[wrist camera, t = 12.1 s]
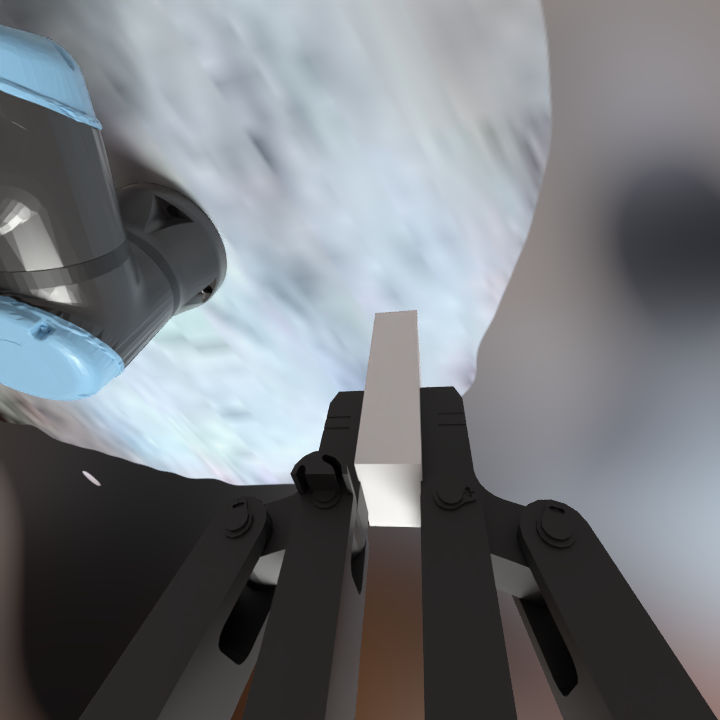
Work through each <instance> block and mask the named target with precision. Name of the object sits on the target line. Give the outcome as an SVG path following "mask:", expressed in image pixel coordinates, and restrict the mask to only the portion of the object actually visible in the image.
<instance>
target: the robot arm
mask: <svg viewBox="0 0 720 720" xmlns="http://www.w3.org/2000/svg"><path fill="white" fill-rule="evenodd" d="M101 130H103V129H102V125H101V123H100V121H99V120H98V119H97V118H96V116H95V113H94V109H93V106H92V103H91V100H90V96H89V93H88V90H87V87H86V84H85V80H84V77H83V74H82V72H81V69H80V67H79V66H78V64H77V63H76V61H75V60H74V58H73V57H72V56H71V55H70V54H69V53H68V52H67V51H66V50H65V49H64V48H63V47H62V46H60V45H59V44H58V43H56V42H55V41H53V40H51V39H49V38H47V37H44V36H41V35H38V34H34V33H30V32H27V31H23V30H19V29H15V28H12V27H8V26H4V25H0V383H1V384H3V385H5V386H8V387H10V388H12V389H15V390H18V391H20V392H23V393H26V394H29V395H33V396H36V397H41V398H45V399H52V400H61V401H71V400H80V399H84V398H87V397H90V396H92V395H93V394H96V393H97V392H98V391H100V390H101V389H102V388H103V387H104V386H105V385H106V384H107V383H109V382H110V381H111V380H112V379H113V378H114V377H117V376H118V375H120V374H121V373H122V372H123V371H124V369H125V368H126V366H127V365H128V364H129V363H130V362H131V361H132V360H133V359H134V358H135V357H136V356H137V354H138V353H139V352H140V351H141V350H142V349H143V348H144V347H145V346H146V345H147V344H148V342H149V341H150V340H151V339H152V338H153V337H154V336H155V335H156V334H157V333H158V332H159V330H160V329H161V328H162V327H163V326H164V325H165V324H166V323H167V322H168V320H169V319H170V318H171V317H172V316H174V315H177V314H180V313H182V312H185V311H188V310H190V309H193V308H195V307H198V306H200V305H202V304H204V303H205V302H207V301H208V300H209V299H210V298H211V297H212V296H213V295H214V294H215V293H216V291H217V290H218V289H219V288H220V286H221V285H222V283H223V281H224V278H225V275H226V269H227V260H226V253H225V249H224V246H223V243H222V240H221V238H220V236H219V234H218V232H217V230H216V228H215V227H214V225H213V224H212V222H211V221H210V220H209V218H208V217H207V216H206V215H205V214H204V213H203V212H202V211H201V210H200V209H199V208H198V207H197V206H196V205H195V204H194V203H193V202H191V201H190V200H189V199H187V198H186V197H184V196H183V195H181V194H179V193H177V192H176V191H174V190H171V189H169V188H166V187H164V186H160V185H156V184H150V183H136V184H131V185H128V186H125V187H123V188H120V189H118V190H116V189H115V185H114V181H113V178H112V174H111V170H110V166H109V162H108V158H107V154H106V150H105V146H104V142H103V138H102V134H101ZM291 476H292V478H293V481H294V483H295V485H296V487H297V490H298V492H297V493H295V494H294V495H292V496H289V497H287V498H284V499H280V500H277V501H274V502H270V503H267V504H264V505H263V503H262V502H261V501H260V500H258V499H256V498H255V497H241V498H238V499H234V500H233V501H231V502H230V503H228V504H226V505H225V506H224V507H223V508H222V509H221V510H220V511H219V512H218V513H217V515H216V516H215V517H214V519H213V520H212V522H211V523H210V525H209V526H208V528H207V529H206V531H205V532H204V534H203V535H202V537H201V538H200V540H199V541H198V543H197V544H196V546H195V547H194V548H193V550H192V552H191V553H190V554H189V556H188V557H187V559H186V561H185V562H184V563H183V565H182V567H181V568H180V569H179V571H178V572H177V574H176V575H175V577H174V578H173V580H172V581H171V583H170V585H169V586H168V587H167V589H166V590H165V592H164V593H163V595H162V596H161V598H160V599H159V601H158V602H157V604H156V605H155V607H154V608H153V610H152V611H151V613H150V614H149V616H148V617H147V619H146V620H145V622H144V623H143V625H142V626H141V628H140V629H139V630H138V632H137V633H136V635H135V636H134V638H133V639H132V641H131V643H130V644H129V645H128V647H127V648H126V650H125V651H124V653H123V654H122V656H121V657H120V659H119V661H118V662H117V663H116V665H115V666H114V668H113V669H112V671H111V672H110V674H109V675H108V677H107V678H106V680H105V681H104V683H103V684H102V686H101V687H100V689H99V690H98V692H97V693H96V695H95V696H94V698H93V699H92V701H91V702H90V704H89V705H88V707H87V708H86V710H85V711H84V713H83V714H82V715H81V717H80V719H79V720H230V719H231V717H232V714H233V712H234V710H235V708H236V706H237V703H238V701H239V699H240V697H241V694H242V692H243V690H244V687H245V685H246V683H247V681H248V679H249V676H250V674H251V671H252V670H253V667H254V665H255V663H256V661H257V663H256V667H255V671H254V675H253V679H252V683H251V687H250V690H249V694H248V699H247V702H246V706H245V710H244V714H243V718H242V720H355V710H356V698H357V686H358V673H359V662H360V649H361V637H362V624H363V613H364V601H365V588H366V577H367V564H368V551H369V546H368V538H367V525H368V519H369V523H370V526H398V527H399V526H400V527H421V558H422V604H423V654H424V702H425V720H517V715H516V708H515V702H514V697H513V690H512V684H511V678H510V672H509V665H508V659H507V653H506V647H505V641H504V634H503V628H502V623H501V617H500V610H499V604H498V598H497V592H496V588H497V589H499V590H502V591H504V592H506V593H509V594H511V595H512V597H513V599H514V601H515V604H516V606H517V609H518V611H519V613H520V616H521V618H522V621H523V623H524V625H525V628H526V630H527V633H528V635H529V638H530V640H531V642H532V645H533V647H534V650H535V652H536V654H537V657H538V659H539V661H540V664H541V666H542V669H543V671H544V673H545V676H546V678H547V681H548V683H549V685H550V688H551V690H552V693H553V695H554V697H555V700H556V702H557V705H558V707H559V709H560V712H561V715H562V717H563V719H564V720H718V719H717V718H716V716H715V715H714V713H713V712H712V710H711V709H710V707H709V706H708V704H707V703H706V701H705V700H704V698H703V697H702V695H701V694H700V692H699V690H698V689H697V687H696V686H695V684H694V683H693V681H692V680H691V678H690V677H689V676H688V674H687V672H686V671H685V669H684V668H683V666H682V665H681V663H680V662H679V660H678V659H677V657H676V656H675V654H674V653H673V651H672V650H671V648H670V647H669V645H668V644H667V642H666V641H665V639H664V637H663V636H662V635H661V633H660V631H659V630H658V629H657V627H656V625H655V624H654V622H653V621H652V619H651V618H650V616H649V615H648V613H647V612H646V610H645V609H644V607H643V606H642V604H641V603H640V601H639V600H638V599H637V597H636V595H635V594H634V592H633V591H632V589H631V588H630V586H629V584H628V583H627V581H626V580H625V579H624V577H623V575H622V574H621V572H620V571H619V570H618V568H617V566H616V565H615V563H614V562H613V560H612V559H611V557H610V556H609V554H608V553H607V551H606V550H605V548H604V547H603V545H602V544H601V542H600V541H599V539H598V538H597V536H596V535H595V533H594V531H593V530H592V528H591V527H590V525H589V524H588V523H587V521H586V520H585V519H584V518H583V517H582V516H581V515H580V514H579V513H578V512H577V511H575V510H574V509H573V508H571V507H569V506H568V505H566V504H564V503H561V502H557V501H554V500H537V501H535V502H533V503H530V504H528V505H527V506H523V505H519V504H516V503H513V502H510V501H506V500H503V499H501V498H499V497H496V496H494V495H493V494H491V493H490V492H488V491H487V490H486V489H485V488H484V487H483V486H482V485H481V484H480V483H479V481H478V479H477V478H476V476H475V473H474V469H473V463H472V457H471V451H470V444H469V438H468V431H467V427H466V419H465V413H464V406H463V400H462V397H461V396H460V395H459V393H458V392H457V391H456V389H455V388H454V387H453V386H451V387H425V388H421V367H420V351H419V336H418V320H417V310H412V311H399V312H386V313H375V320H374V327H373V334H372V341H371V348H370V355H369V363H368V370H367V377H366V384H365V391H346V392H339V393H338V394H337V395H336V396H335V398H334V399H333V400H332V402H331V403H330V406H329V410H328V414H327V419H326V422H325V427H324V431H323V435H322V439H321V443H320V448H319V451H315V452H312V453H310V454H308V455H306V456H304V457H303V458H302V459H301V460H300V461H299V462H298V463H296V464H295V466H294V468H293V470H292V472H291Z"/></svg>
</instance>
